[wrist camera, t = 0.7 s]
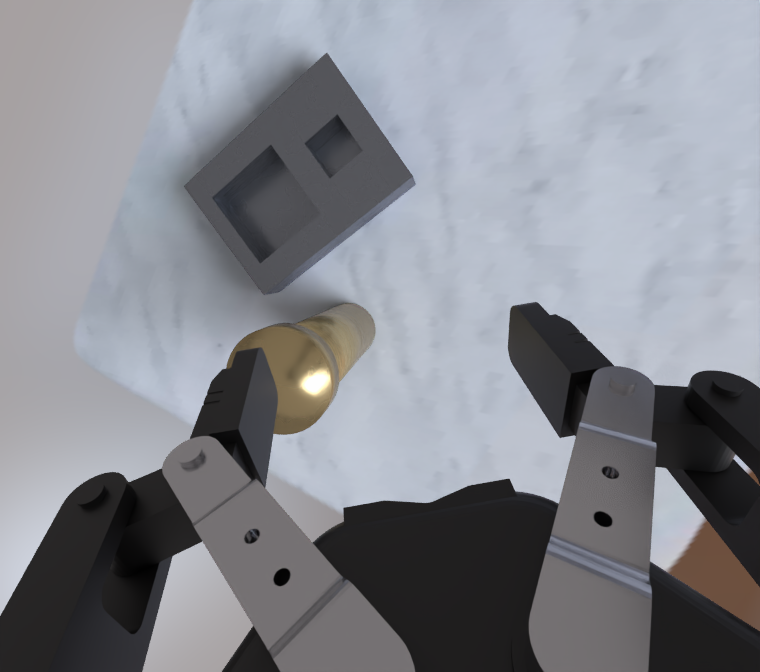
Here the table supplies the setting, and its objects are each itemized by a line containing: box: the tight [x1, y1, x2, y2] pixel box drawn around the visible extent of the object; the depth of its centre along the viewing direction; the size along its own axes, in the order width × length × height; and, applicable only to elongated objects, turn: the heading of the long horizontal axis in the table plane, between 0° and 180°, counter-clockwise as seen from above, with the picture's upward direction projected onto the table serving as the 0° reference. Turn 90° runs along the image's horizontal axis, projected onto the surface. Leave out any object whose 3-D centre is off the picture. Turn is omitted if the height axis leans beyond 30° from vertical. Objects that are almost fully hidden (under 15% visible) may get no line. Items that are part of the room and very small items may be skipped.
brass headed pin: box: [226, 303, 375, 435], centre depth 26 cm, size 5×5×15 cm
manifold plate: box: [184, 53, 416, 295], centre depth 30 cm, size 14×10×3 cm
